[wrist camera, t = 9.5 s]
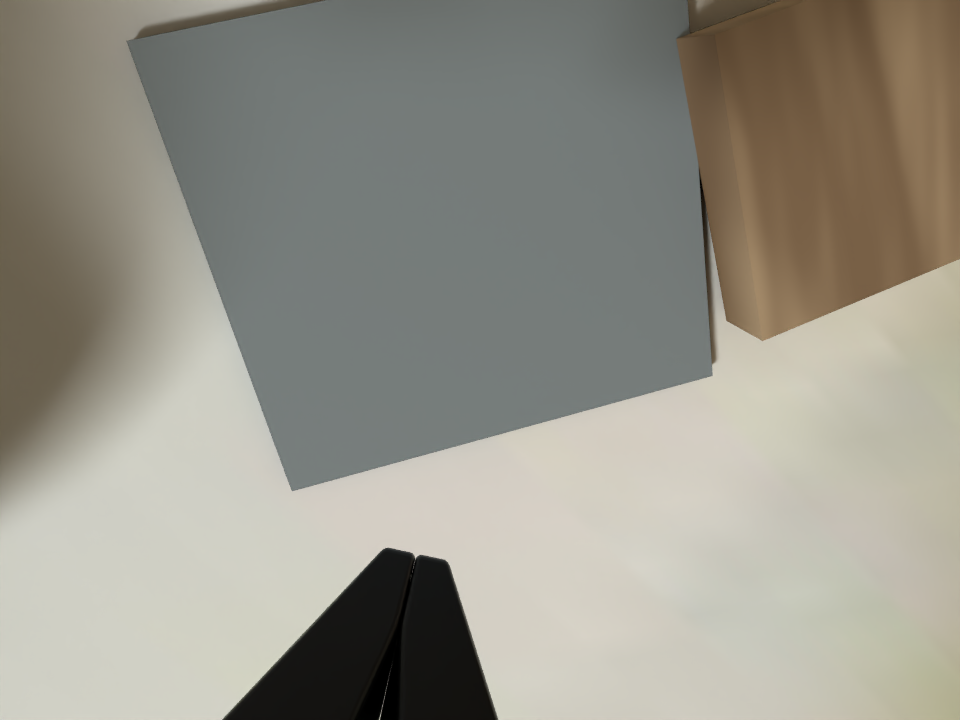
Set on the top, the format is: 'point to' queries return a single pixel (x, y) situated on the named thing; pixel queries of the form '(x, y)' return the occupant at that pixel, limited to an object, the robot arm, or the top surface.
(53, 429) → the top surface
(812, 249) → the board
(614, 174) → the mat
